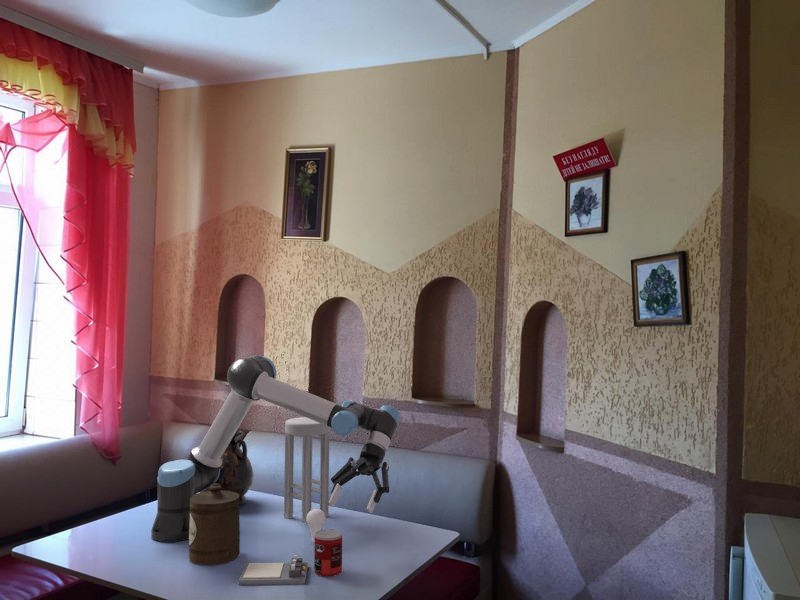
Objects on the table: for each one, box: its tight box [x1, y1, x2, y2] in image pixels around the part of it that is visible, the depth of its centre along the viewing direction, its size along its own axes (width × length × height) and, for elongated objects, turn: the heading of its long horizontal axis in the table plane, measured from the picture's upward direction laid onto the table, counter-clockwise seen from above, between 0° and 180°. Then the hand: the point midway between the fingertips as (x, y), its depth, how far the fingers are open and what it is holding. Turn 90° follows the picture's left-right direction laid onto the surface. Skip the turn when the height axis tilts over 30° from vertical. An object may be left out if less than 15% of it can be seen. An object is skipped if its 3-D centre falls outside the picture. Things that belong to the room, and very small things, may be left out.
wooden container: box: [188, 483, 241, 566], centre depth 200 cm, size 15×15×22 cm
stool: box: [283, 416, 331, 525], centre depth 239 cm, size 16×16×35 cm
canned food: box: [313, 528, 343, 577], centre depth 189 cm, size 8×8×11 cm
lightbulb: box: [306, 508, 326, 544], centre depth 212 cm, size 6×6×11 cm
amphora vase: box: [199, 429, 254, 508], centre depth 252 cm, size 22×22×28 cm
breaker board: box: [238, 554, 309, 586], centre depth 186 cm, size 18×12×4 cm, turn 94°
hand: (349, 507), depth 199 cm, fingers open, 13 cm apart
